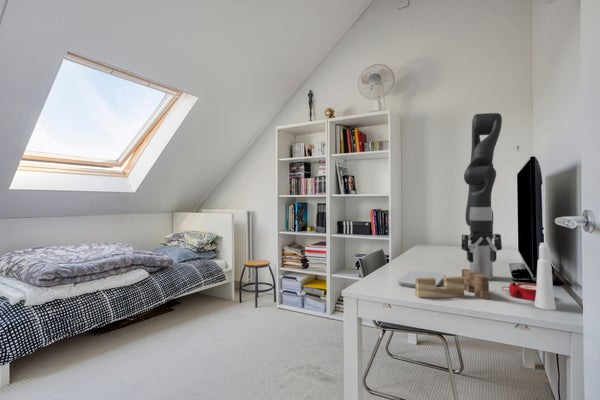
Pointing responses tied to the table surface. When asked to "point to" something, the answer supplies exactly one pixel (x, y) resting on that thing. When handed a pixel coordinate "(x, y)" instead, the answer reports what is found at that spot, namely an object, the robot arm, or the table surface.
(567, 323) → the table surface
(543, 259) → the cosmetic bottle
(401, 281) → the tablet
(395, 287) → the table surface
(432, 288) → the oak slotted rail
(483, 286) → the walnut cross plate
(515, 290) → the alarm clock
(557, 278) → the table surface
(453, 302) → the table surface
